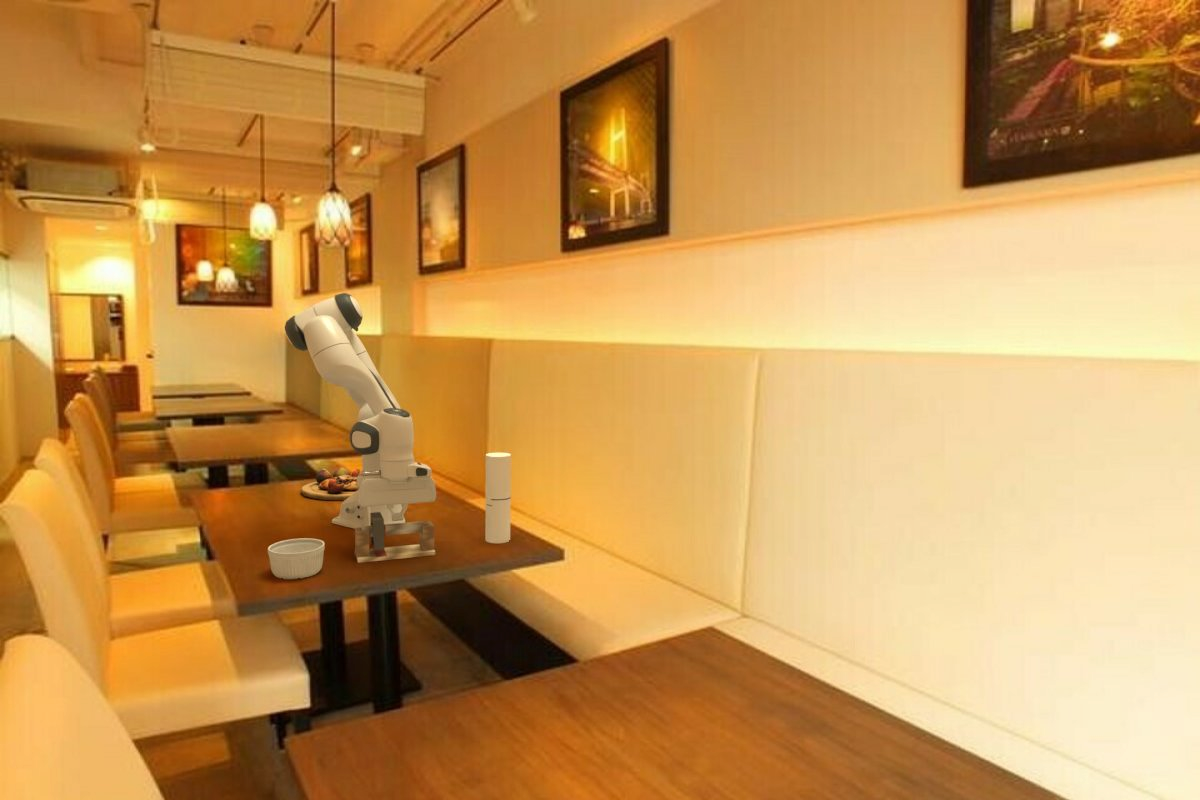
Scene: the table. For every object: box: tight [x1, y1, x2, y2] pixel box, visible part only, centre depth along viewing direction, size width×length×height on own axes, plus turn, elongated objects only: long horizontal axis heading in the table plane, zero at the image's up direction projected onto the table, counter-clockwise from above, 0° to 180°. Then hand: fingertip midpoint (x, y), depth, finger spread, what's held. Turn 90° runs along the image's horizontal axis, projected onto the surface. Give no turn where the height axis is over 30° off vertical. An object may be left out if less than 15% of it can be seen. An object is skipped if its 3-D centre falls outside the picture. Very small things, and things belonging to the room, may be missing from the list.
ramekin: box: [267, 537, 326, 580], centre depth 190 cm, size 13×13×7 cm
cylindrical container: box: [484, 452, 512, 544], centre depth 220 cm, size 7×7×25 cm
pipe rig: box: [354, 520, 436, 564], centre depth 205 cm, size 20×8×8 cm, turn 113°
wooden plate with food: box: [300, 466, 362, 501], centre depth 279 cm, size 32×32×8 cm
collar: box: [370, 512, 385, 550], centre depth 203 cm, size 2×8×8 cm, turn 23°
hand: (397, 520), depth 205 cm, fingers closed
